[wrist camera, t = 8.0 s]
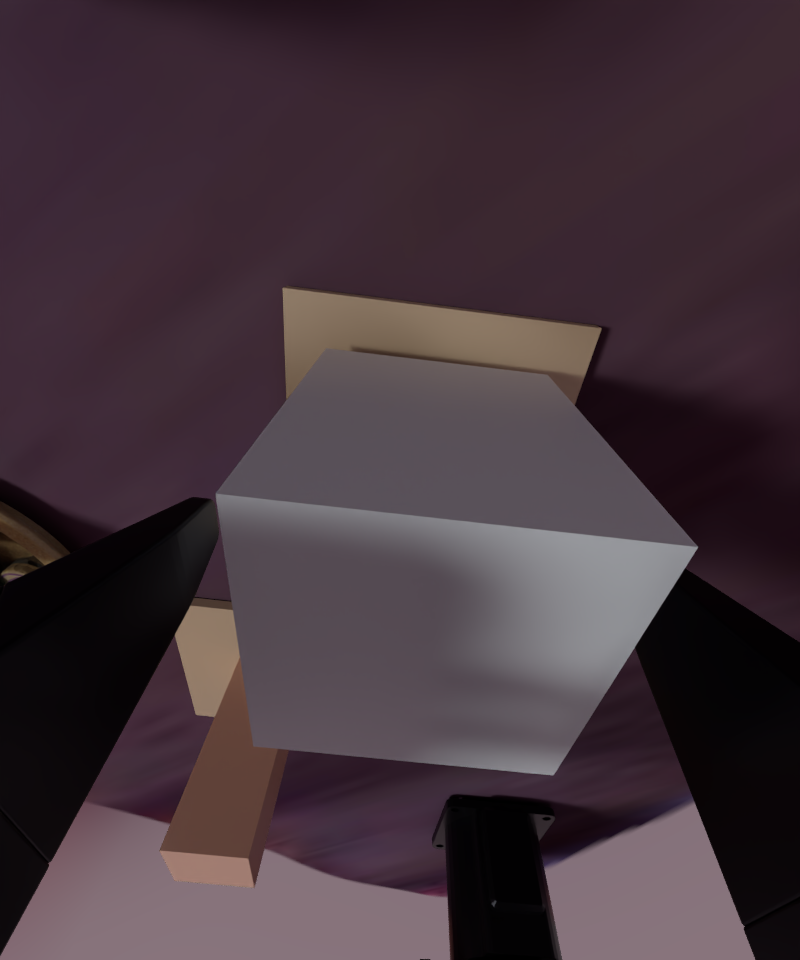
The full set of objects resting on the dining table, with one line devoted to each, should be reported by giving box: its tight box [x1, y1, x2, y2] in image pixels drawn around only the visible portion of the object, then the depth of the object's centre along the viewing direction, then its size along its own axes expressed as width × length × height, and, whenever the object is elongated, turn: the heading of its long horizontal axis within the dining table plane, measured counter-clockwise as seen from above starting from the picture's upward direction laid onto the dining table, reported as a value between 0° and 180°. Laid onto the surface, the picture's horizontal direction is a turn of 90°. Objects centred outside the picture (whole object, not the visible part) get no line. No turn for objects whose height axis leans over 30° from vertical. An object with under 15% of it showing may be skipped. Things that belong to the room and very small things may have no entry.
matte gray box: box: [216, 348, 698, 775], centre depth 9 cm, size 6×6×7 cm
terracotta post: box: [159, 598, 289, 888], centre depth 16 cm, size 8×8×7 cm
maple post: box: [283, 286, 602, 405], centre depth 10 cm, size 8×8×7 cm
